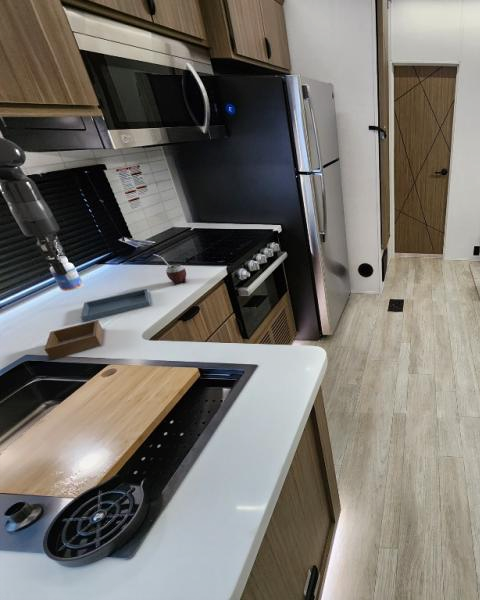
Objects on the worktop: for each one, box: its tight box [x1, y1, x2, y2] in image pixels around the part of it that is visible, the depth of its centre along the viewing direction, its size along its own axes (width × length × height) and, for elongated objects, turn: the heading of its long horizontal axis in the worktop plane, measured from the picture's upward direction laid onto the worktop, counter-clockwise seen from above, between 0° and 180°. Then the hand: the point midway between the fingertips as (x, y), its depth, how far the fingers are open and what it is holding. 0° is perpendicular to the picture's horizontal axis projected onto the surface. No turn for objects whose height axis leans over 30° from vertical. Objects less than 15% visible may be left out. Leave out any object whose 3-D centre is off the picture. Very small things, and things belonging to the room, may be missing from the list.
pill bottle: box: [49, 255, 84, 292], centre depth 102 cm, size 6×5×10 cm
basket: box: [44, 319, 104, 361], centre depth 103 cm, size 12×12×4 cm
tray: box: [80, 288, 151, 323], centre depth 125 cm, size 20×14×3 cm
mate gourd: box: [152, 253, 187, 286], centre depth 141 cm, size 8×8×15 cm
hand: (63, 271), depth 101 cm, fingers closed on pill bottle, 5 cm apart
